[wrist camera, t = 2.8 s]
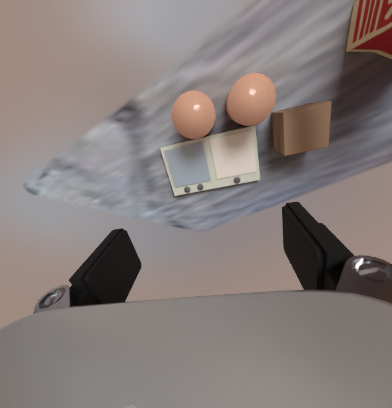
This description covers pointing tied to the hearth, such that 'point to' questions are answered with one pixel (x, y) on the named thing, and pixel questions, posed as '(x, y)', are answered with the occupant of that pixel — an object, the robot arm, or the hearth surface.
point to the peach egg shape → (251, 99)
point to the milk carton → (371, 27)
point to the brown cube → (301, 128)
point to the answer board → (213, 161)
